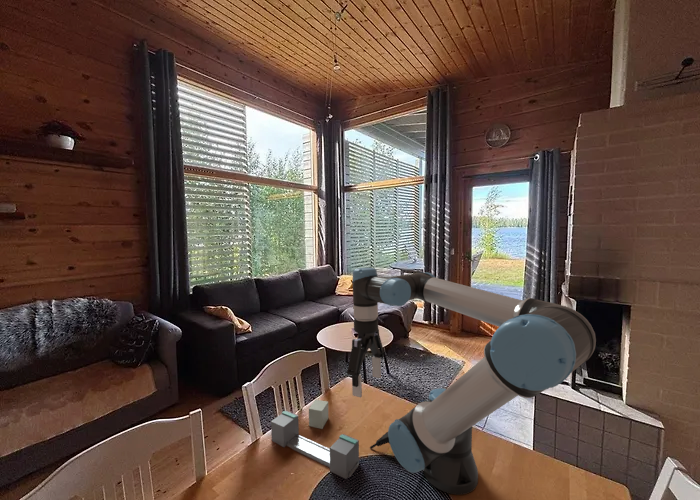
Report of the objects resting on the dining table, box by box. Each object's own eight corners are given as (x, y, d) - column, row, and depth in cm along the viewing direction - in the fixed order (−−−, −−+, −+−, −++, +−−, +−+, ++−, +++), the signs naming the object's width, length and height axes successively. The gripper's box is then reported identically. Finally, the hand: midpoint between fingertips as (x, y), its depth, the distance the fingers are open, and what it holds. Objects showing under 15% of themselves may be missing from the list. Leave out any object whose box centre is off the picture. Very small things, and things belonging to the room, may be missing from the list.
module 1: (298, 435, 103) (298, 414, 102) (283, 448, 97) (283, 425, 96) (286, 429, 106) (286, 409, 105) (271, 441, 100) (271, 420, 99)
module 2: (328, 420, 111) (328, 401, 111) (322, 430, 105) (321, 411, 105) (315, 417, 112) (315, 399, 112) (309, 427, 107) (308, 408, 106)
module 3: (358, 462, 90) (358, 438, 90) (346, 479, 84) (345, 453, 84) (343, 455, 93) (343, 432, 93) (330, 471, 87) (329, 446, 87)
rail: (358, 465, 89) (358, 461, 89) (349, 477, 85) (349, 473, 85) (283, 431, 105) (283, 427, 105) (272, 439, 101) (272, 435, 101)
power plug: (370, 439, 99) (399, 421, 97) (384, 459, 98) (414, 441, 96) (367, 452, 93) (398, 432, 91) (382, 472, 93) (414, 454, 90)
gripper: (372, 308, 106) (373, 368, 107) (333, 327, 85) (335, 402, 86) (392, 310, 103) (393, 372, 103) (357, 330, 81) (359, 408, 82)
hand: (367, 386), depth 95 cm, fingers open, 13 cm apart
